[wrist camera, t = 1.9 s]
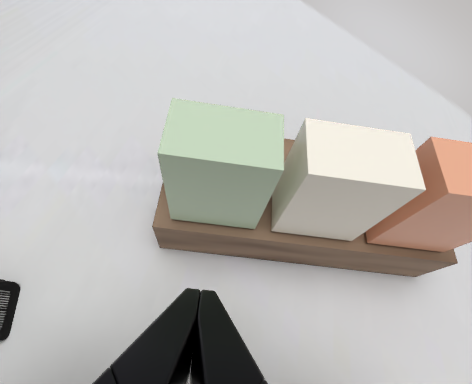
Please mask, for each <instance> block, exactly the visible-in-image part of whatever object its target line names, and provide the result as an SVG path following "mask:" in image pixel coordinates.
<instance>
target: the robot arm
mask: <svg viewBox="0 0 472 384" xmlns="http://www.w3.org/2000/svg"><path fill="white" fill-rule="evenodd" d="M192 353H193V354H192ZM191 361H192V362H191ZM190 368H191V371H190ZM189 374H190V384H268V383H267V381H266V380H264V376H263V375H262V373H261V371H260V369H259V368H258V366H257V364H256V362H255V361H254V359H253V357H252V355H251V354H250V352H249V350H248V348H247V347H246V345H245V343H244V341H243V340H242V338H241V336H240V334H239V333H238V331H237V329H236V327H235V325H234V324H233V322H232V320H231V318H230V317H229V315H228V313H227V311H226V310H225V308H224V306H223V304H222V303H221V301H220V299H219V297H218V296H217V294H216V292H215V291H209V290H202V291H201V293H200V290H199V289H190V288H187V289H185V290H184V291H183V292H182V293H181V294H180V295H179V296H178V297H177V298H176V299H175V301H174V302H173V303H172V304H171V305H170V306H169V307H168V308H167V309H166V310H165V311H164V312H163V313H162V314H161V315H160V316H159V317H158V318H157V319H156V320H155V321H154V322H153V323H152V324H151V325H150V326H149V327H148V328H147V329H146V330H145V331H144V332H143V333H142V334H141V335H140V336H139V337H138V338H137V339H136V340H135V341H134V342H133V343H132V344H131V345H130V346H129V347H128V348H127V349H126V350H125V351H124V352H123V353H122V354H121V355H120V356H119V357H118V358H117V359H116V360H115V362H114V363H113V364H112V365H111V366H110V368H107V369H106V370H105V371H104V372H103V373H102V375H101V376H100V377H99V378H98V379H97V380H96V381H95V382H94V383H92V384H187V383H188V379H189Z"/></svg>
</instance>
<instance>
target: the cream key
mask: <svg viewBox="0 0 472 384" xmlns="http://www.w3.org/2000/svg"><path fill="white" fill-rule="evenodd" d="M425 190H426V188H425V184H424V180H423V177H422V173H421V170H420V166H419V162H418V159H417V155H416V152H415V148H414V144H413V141H412V137H411V134H409V133H403V132H396V131H389V130H382V129H376V128H369V127H362V126H356V125H349V124H342V123H336V122H329V121H322V120H316V119H309V118H305V120H304V122H303V124H302V126H301V129H300V131H299V133H298V135H297V137H296V139H295V141H294V143H293V145H292V148H291V150H290V152H289V154H288V156H287V158H286V160H285V162H284V171H283V173H282V175H281V177H280V179H279V181H278V183H277V185H276V187H275V190H274V192H273V194H272V225H271V231H274V232H282V233H290V234H298V235H307V236H315V237H323V238H331V239H340V240H348V241H352V240H354V239H355V238H357V237H358V236H360V235H361V234H363V233H364V232H366V231H367V230H368V229H370V228H371V227H373V226H374V225H376V224H377V223H379V222H380V221H382V220H383V219H384V218H386V217H387V216H389V215H390V214H392V213H393V212H395V211H396V210H398V209H399V208H400V207H402V206H403V205H405V204H406V203H408V202H409V201H411V200H412V199H414V198H415V197H417V196H418V195H419V194H421V193H422V192H424V191H425Z"/></svg>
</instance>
